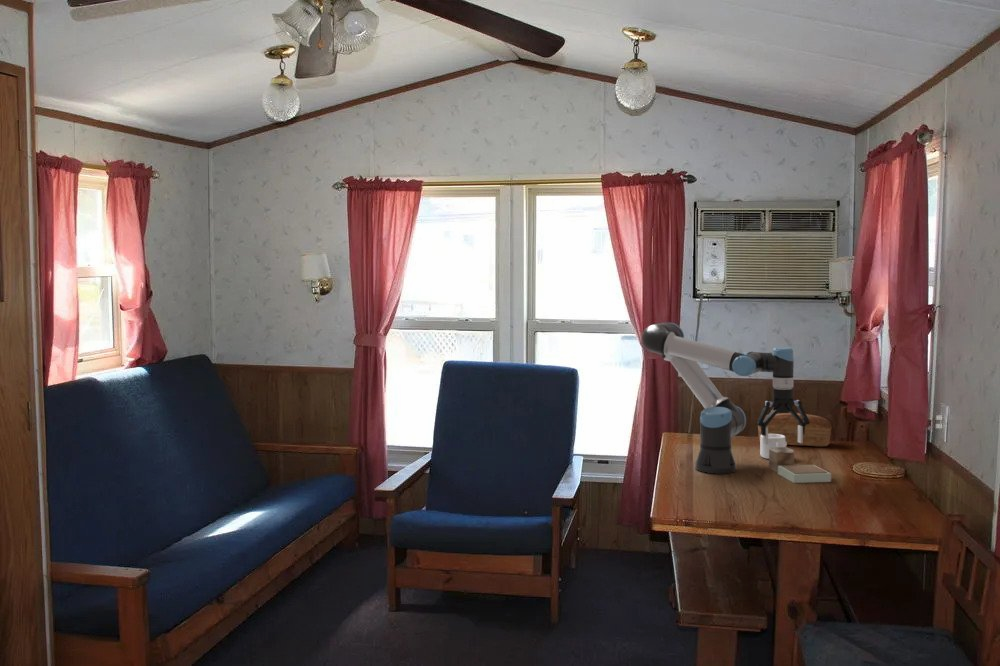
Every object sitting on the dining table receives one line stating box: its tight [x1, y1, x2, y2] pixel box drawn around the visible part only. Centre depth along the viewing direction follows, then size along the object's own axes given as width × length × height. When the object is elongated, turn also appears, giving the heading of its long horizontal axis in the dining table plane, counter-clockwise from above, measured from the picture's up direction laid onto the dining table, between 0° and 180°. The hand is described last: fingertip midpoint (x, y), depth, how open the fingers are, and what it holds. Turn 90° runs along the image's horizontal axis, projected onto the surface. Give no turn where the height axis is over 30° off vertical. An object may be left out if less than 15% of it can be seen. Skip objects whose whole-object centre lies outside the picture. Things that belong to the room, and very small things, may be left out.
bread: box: [757, 412, 832, 447], centre depth 374 cm, size 12×31×14 cm, turn 71°
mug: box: [759, 434, 788, 460], centre depth 346 cm, size 12×10×9 cm
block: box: [768, 446, 796, 473], centre depth 327 cm, size 7×7×8 cm
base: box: [777, 464, 832, 484], centre depth 314 cm, size 14×14×3 cm
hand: (782, 443), depth 326 cm, fingers open, 13 cm apart
